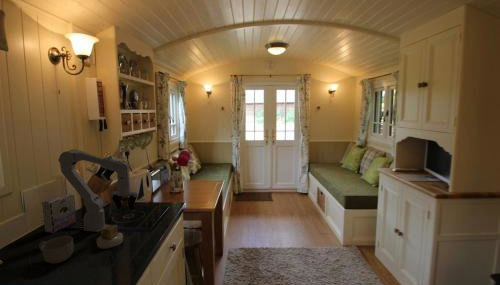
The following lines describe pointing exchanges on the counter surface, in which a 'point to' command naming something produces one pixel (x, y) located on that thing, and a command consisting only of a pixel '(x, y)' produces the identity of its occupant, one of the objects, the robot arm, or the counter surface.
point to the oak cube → (109, 232)
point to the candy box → (59, 213)
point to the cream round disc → (110, 241)
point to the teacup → (57, 249)
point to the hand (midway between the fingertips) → (125, 209)
